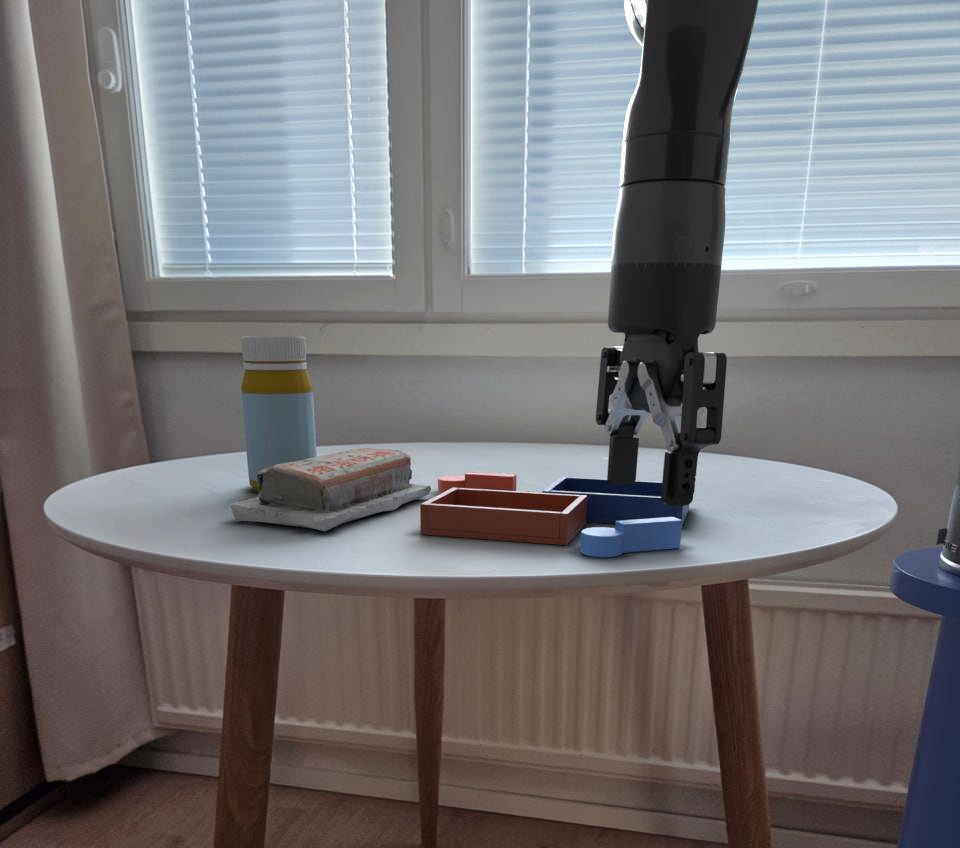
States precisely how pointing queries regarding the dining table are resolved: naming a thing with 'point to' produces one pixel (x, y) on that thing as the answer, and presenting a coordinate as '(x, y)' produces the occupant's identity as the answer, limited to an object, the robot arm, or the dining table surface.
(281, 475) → the packaged product
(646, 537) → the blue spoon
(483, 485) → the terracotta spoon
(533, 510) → the terracotta tray
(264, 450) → the bottle
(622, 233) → the robot arm
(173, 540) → the dining table surface
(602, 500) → the blue tray
